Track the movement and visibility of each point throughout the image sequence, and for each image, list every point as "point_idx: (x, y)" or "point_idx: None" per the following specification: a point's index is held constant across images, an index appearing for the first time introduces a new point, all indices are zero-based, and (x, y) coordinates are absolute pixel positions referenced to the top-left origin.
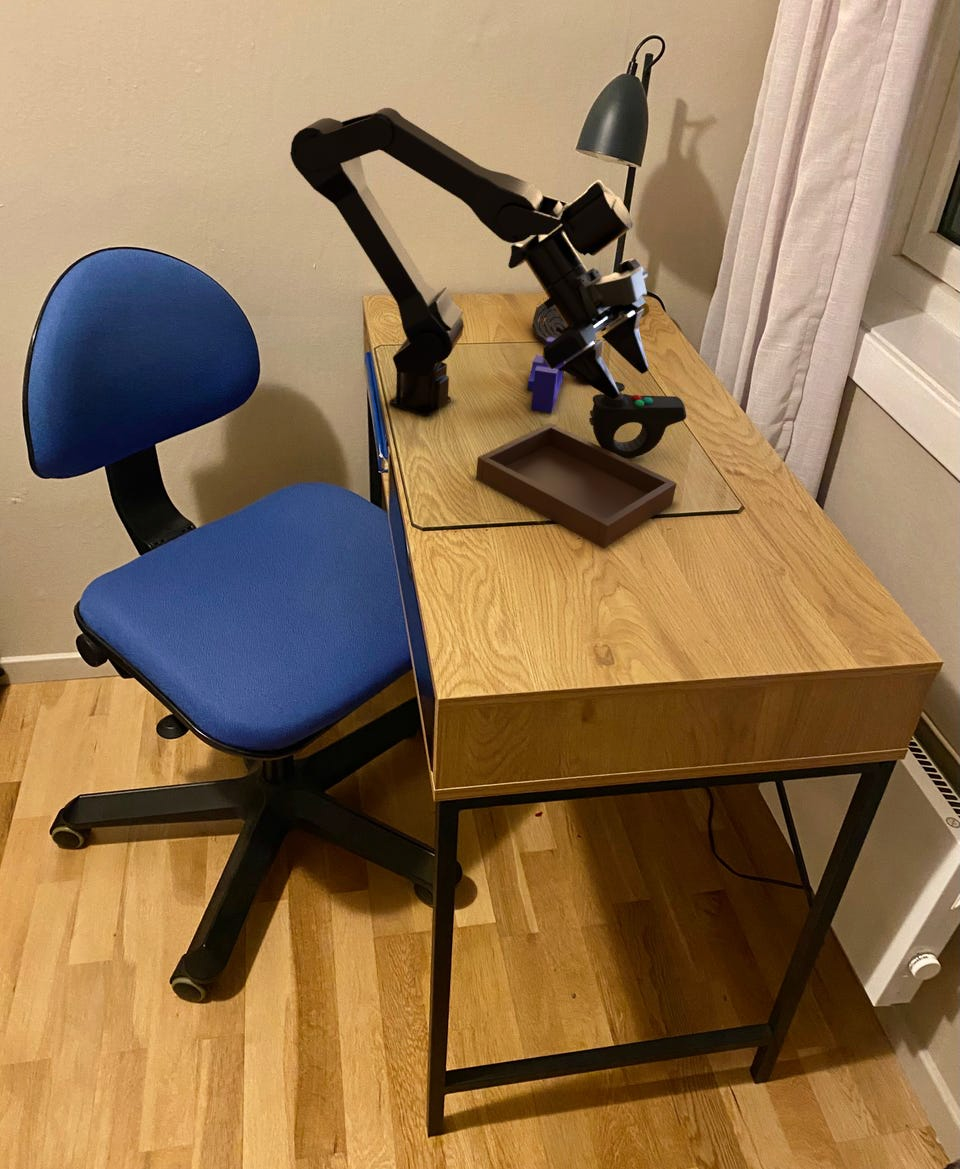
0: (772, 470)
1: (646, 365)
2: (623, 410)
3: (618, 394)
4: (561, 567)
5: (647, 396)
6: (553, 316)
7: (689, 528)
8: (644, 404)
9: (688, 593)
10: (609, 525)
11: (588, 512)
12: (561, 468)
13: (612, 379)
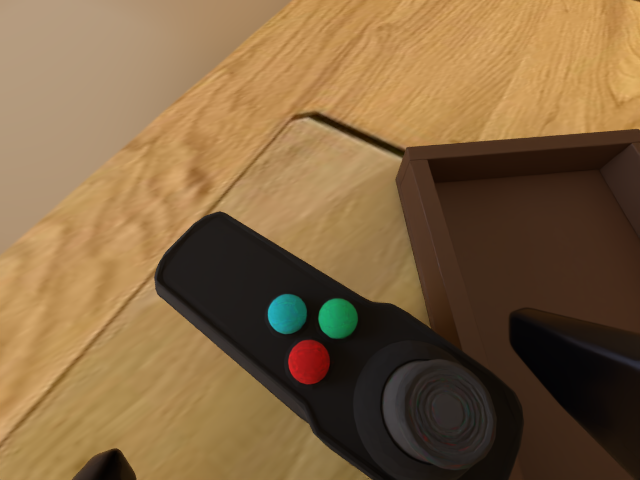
0: (137, 151)
1: (93, 473)
2: (428, 327)
3: (527, 307)
4: None
5: (247, 350)
6: None
7: (421, 127)
8: (319, 306)
9: (531, 55)
10: (632, 129)
11: None
12: (553, 408)
13: (615, 348)
